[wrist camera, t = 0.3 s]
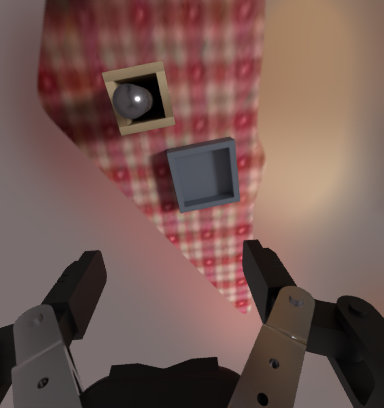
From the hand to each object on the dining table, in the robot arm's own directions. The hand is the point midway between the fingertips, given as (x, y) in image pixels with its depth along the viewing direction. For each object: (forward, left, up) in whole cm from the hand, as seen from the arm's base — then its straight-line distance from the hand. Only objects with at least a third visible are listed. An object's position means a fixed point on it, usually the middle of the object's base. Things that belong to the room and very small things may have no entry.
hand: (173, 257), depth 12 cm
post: (-7, -5, -21) cm, 23 cm away
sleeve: (-7, -5, -21) cm, 23 cm away
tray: (0, +5, -21) cm, 22 cm away
